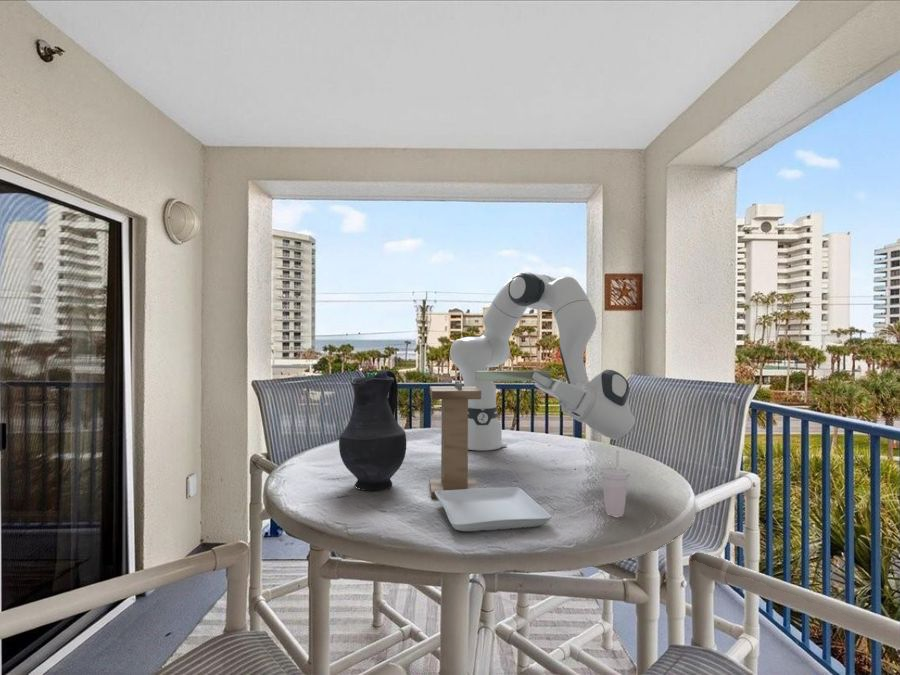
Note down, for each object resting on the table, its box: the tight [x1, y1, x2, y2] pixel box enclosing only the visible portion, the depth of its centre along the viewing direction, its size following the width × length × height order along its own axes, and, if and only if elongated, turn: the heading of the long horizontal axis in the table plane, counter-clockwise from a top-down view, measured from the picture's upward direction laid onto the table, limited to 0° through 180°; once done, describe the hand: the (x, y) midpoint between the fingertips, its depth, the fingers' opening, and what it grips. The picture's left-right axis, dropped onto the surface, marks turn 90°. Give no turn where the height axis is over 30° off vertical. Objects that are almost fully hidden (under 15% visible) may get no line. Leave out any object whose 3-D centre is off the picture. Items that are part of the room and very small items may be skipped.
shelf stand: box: [428, 380, 481, 499], centre depth 131 cm, size 12×12×28 cm
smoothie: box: [599, 450, 631, 516], centre depth 114 cm, size 6×6×14 cm
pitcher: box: [338, 369, 407, 491], centre depth 136 cm, size 17×21×30 cm
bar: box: [476, 370, 551, 382], centre depth 132 cm, size 2×19×2 cm, turn 95°
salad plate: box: [435, 486, 552, 532], centre depth 113 cm, size 21×21×3 cm
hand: (531, 373), depth 133 cm, fingers closed on bar, 2 cm apart
